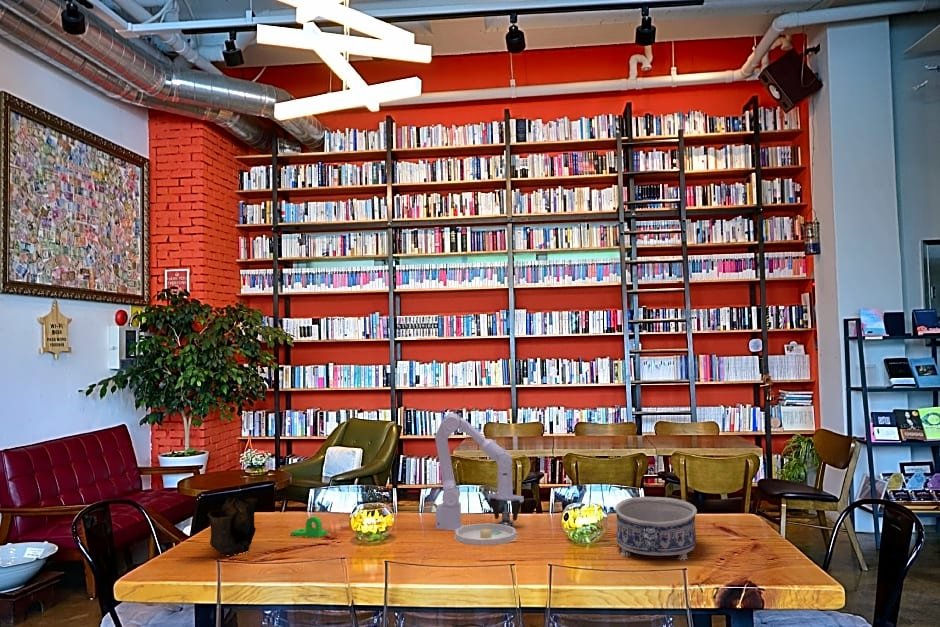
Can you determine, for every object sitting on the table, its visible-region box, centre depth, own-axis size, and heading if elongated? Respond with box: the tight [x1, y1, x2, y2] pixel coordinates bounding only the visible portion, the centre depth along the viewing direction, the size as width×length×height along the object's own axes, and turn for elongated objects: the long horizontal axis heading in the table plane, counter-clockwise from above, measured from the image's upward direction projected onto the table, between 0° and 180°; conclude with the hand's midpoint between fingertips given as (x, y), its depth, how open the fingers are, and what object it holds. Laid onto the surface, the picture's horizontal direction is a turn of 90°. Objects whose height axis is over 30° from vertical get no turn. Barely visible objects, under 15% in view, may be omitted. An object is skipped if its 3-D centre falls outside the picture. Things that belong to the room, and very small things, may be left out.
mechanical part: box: [290, 515, 328, 538], centre depth 274 cm, size 12×6×8 cm, turn 71°
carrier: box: [454, 522, 518, 546], centre depth 265 cm, size 23×23×3 cm
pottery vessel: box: [207, 496, 259, 556], centre depth 252 cm, size 25×11×20 cm, turn 170°
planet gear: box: [497, 511, 515, 528], centre depth 281 cm, size 6×6×6 cm
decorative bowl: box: [614, 496, 698, 561], centre depth 246 cm, size 42×27×15 cm, turn 162°
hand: (505, 519), depth 281 cm, fingers open, 7 cm apart
